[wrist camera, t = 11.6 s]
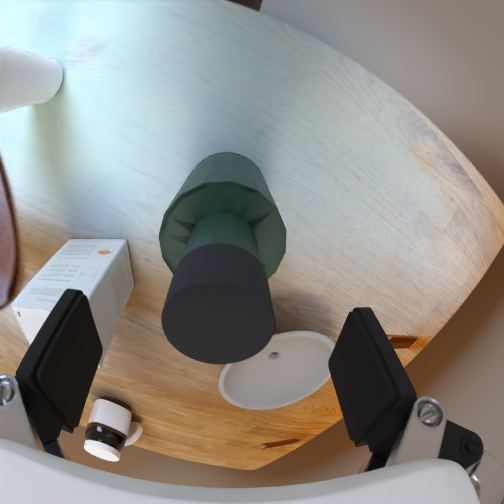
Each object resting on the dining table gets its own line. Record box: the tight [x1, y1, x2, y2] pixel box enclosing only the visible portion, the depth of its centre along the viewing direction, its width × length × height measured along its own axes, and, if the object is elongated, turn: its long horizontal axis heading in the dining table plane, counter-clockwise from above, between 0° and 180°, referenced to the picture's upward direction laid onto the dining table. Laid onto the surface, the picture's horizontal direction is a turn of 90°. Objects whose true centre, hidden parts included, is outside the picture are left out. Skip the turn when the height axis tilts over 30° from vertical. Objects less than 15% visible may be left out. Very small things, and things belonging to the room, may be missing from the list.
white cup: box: [0, 44, 63, 113], centre depth 13 cm, size 7×7×15 cm
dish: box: [218, 331, 335, 410], centre depth 36 cm, size 18×14×5 cm
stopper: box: [161, 243, 275, 364], centre depth 14 cm, size 4×4×7 cm
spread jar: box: [84, 396, 143, 461], centre depth 40 cm, size 12×11×12 cm
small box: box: [11, 239, 134, 368], centre depth 24 cm, size 8×6×13 cm
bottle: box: [159, 152, 286, 279], centre depth 20 cm, size 8×8×16 cm
